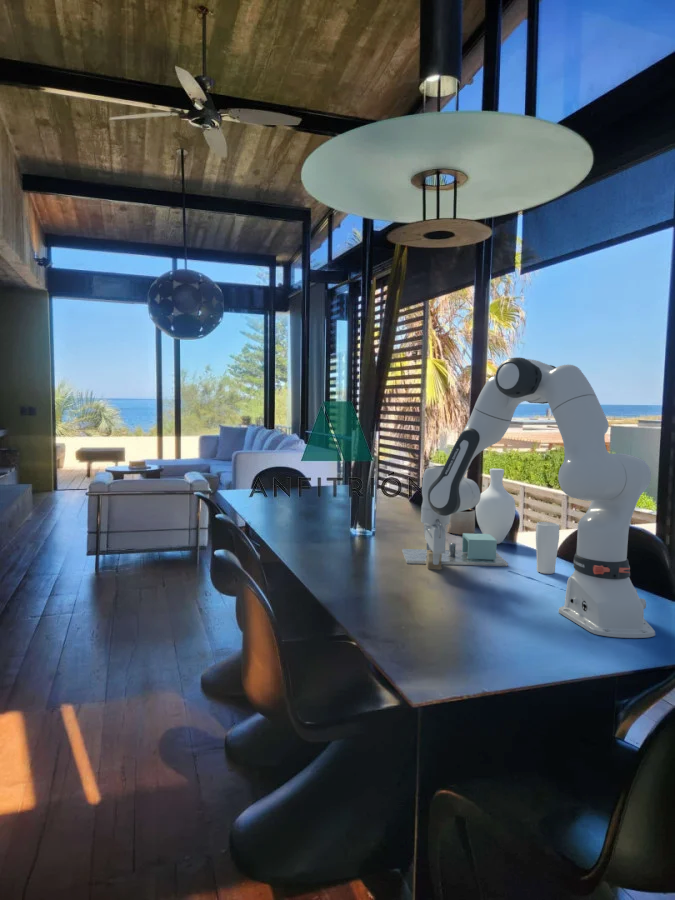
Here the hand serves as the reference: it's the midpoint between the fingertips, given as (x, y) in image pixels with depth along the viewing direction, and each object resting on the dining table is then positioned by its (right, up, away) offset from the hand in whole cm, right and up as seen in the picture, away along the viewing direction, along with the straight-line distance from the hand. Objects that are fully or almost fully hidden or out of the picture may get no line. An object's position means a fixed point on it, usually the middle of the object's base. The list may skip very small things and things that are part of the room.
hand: (433, 561), depth 182 cm
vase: (+29, -1, +38) cm, 47 cm away
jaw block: (0, -2, 0) cm, 2 cm away
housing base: (+8, -1, +12) cm, 15 cm away
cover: (+17, 0, +12) cm, 20 cm away
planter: (+20, +1, +56) cm, 59 cm away
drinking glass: (+34, -3, -3) cm, 34 cm away
